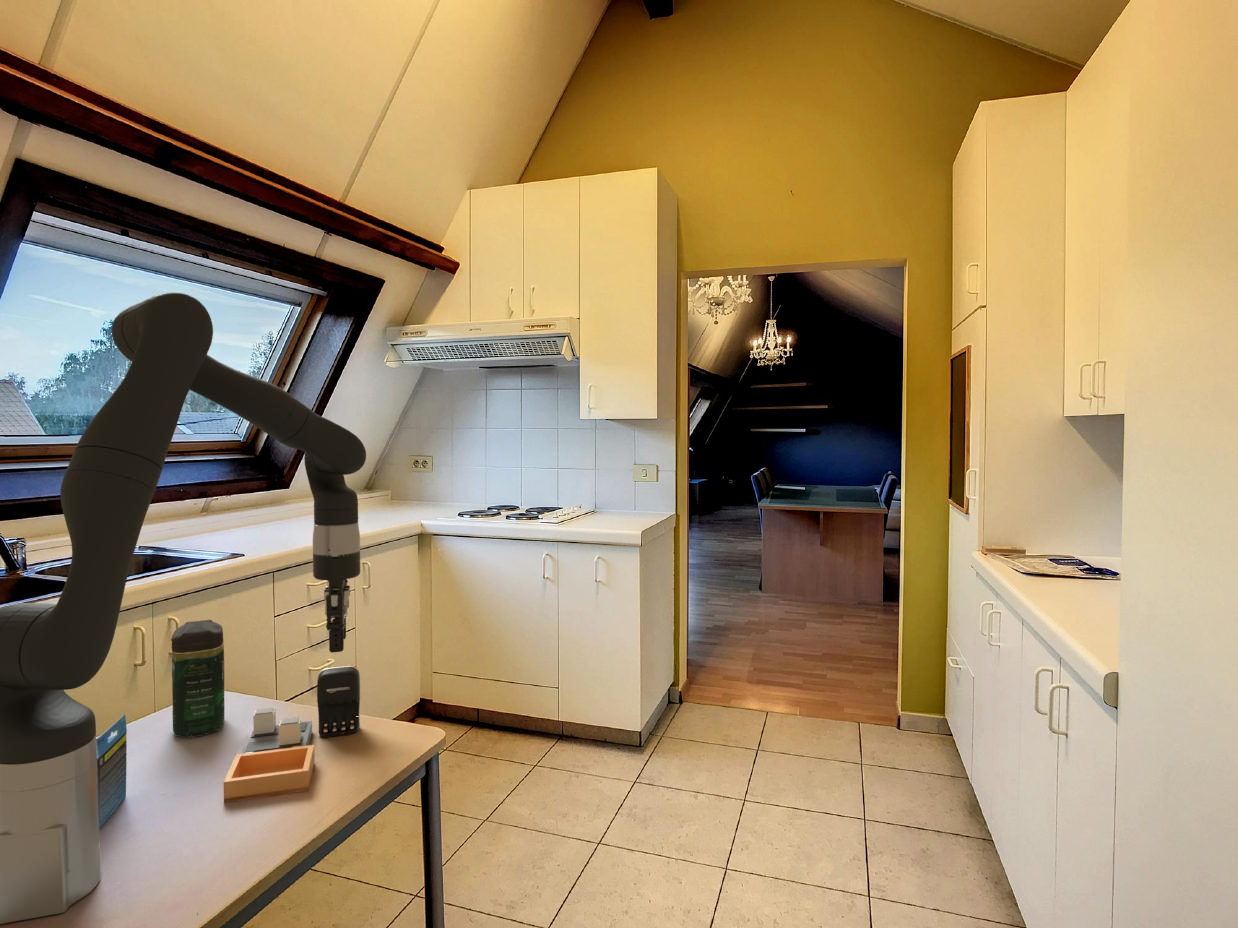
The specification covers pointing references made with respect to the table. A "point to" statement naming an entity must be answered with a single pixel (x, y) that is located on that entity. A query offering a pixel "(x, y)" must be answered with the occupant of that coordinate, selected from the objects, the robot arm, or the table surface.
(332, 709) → the battery charger
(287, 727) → the block
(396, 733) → the table surface
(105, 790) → the label tape box
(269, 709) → the breaker
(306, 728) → the panel
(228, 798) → the tray
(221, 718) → the coffee jar
